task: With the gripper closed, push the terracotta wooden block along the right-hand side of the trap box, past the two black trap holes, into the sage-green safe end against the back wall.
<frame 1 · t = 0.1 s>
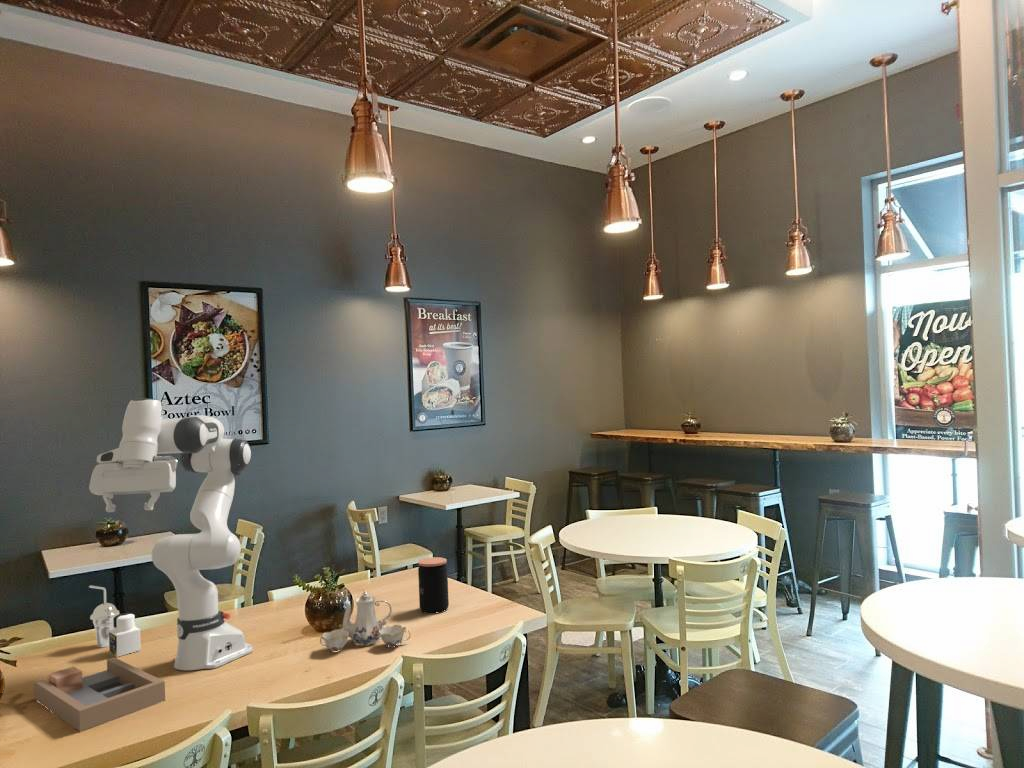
hand: (129, 510, 166), 52 cm above the table, tool tilted 20°, fingers open, 8 cm apart
medicine bottle: (125, 652, 214), on the table
trap box: (97, 699, 178), on the table
terracotta block: (65, 689, 181), point 2 cm above the table, touching trap box
chinaware: (365, 645, 211), on the table
coffee jar: (434, 610, 244), on the table
cup with straw: (105, 645, 221), on the table
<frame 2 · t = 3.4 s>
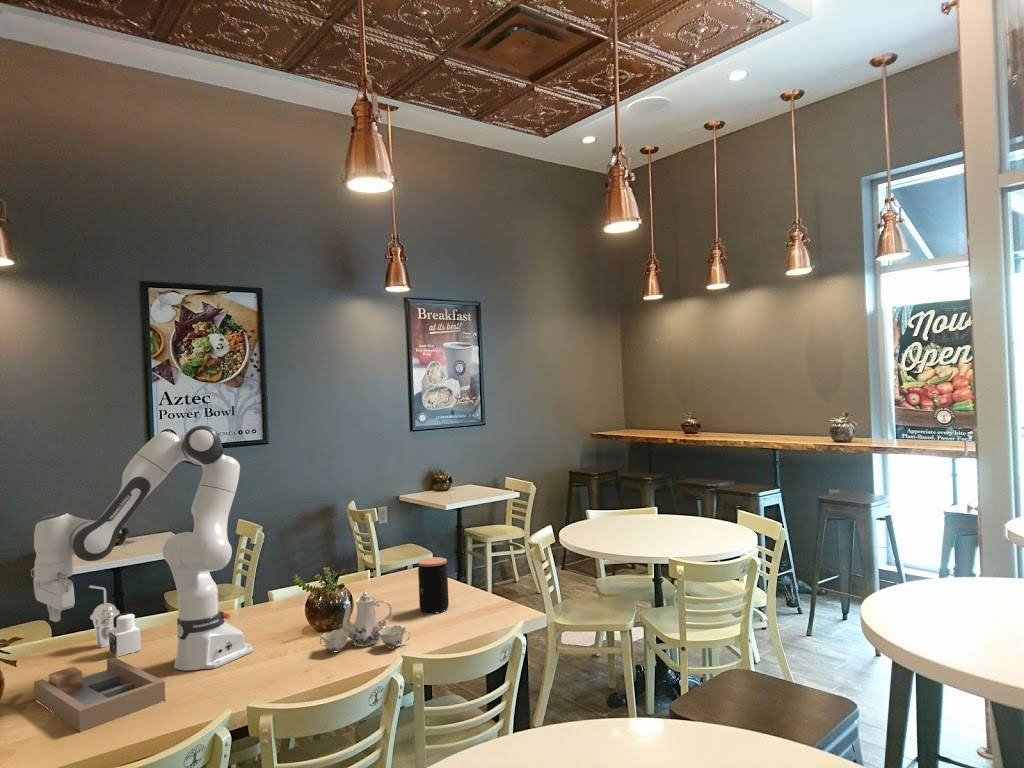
hand: (55, 620, 187), 19 cm above the table, tool pointing down, fingers closed
nothing on the table moved.
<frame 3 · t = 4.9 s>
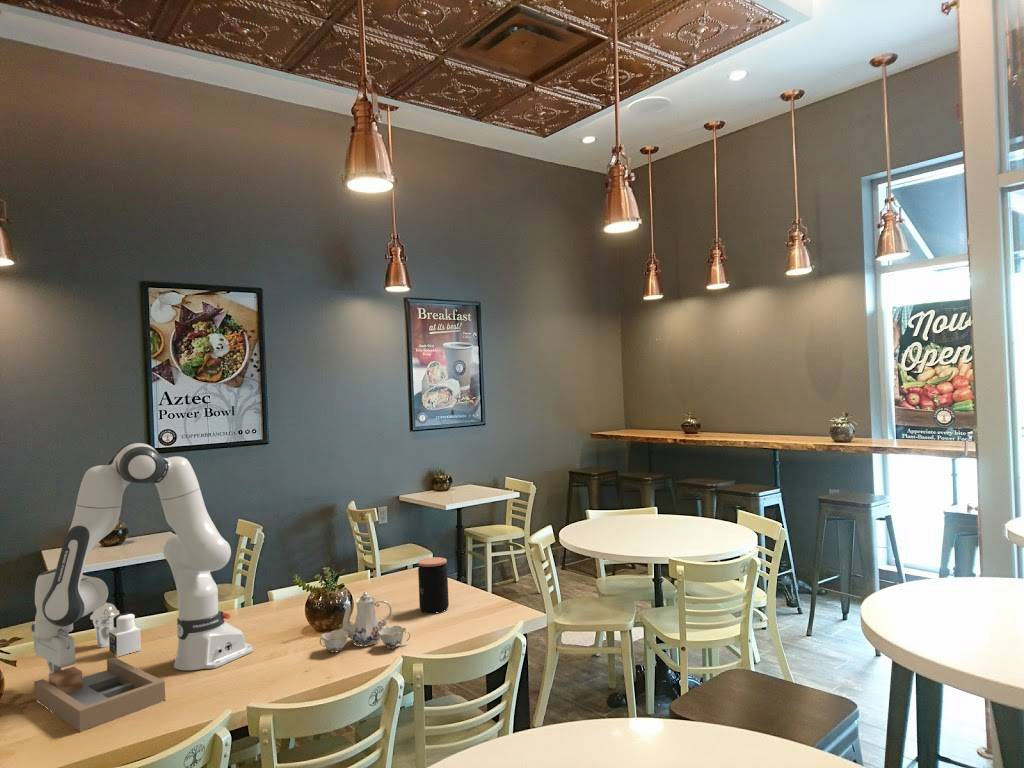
hand: (55, 676, 186), 4 cm above the table, tool pointing down, fingers closed
nothing on the table moved.
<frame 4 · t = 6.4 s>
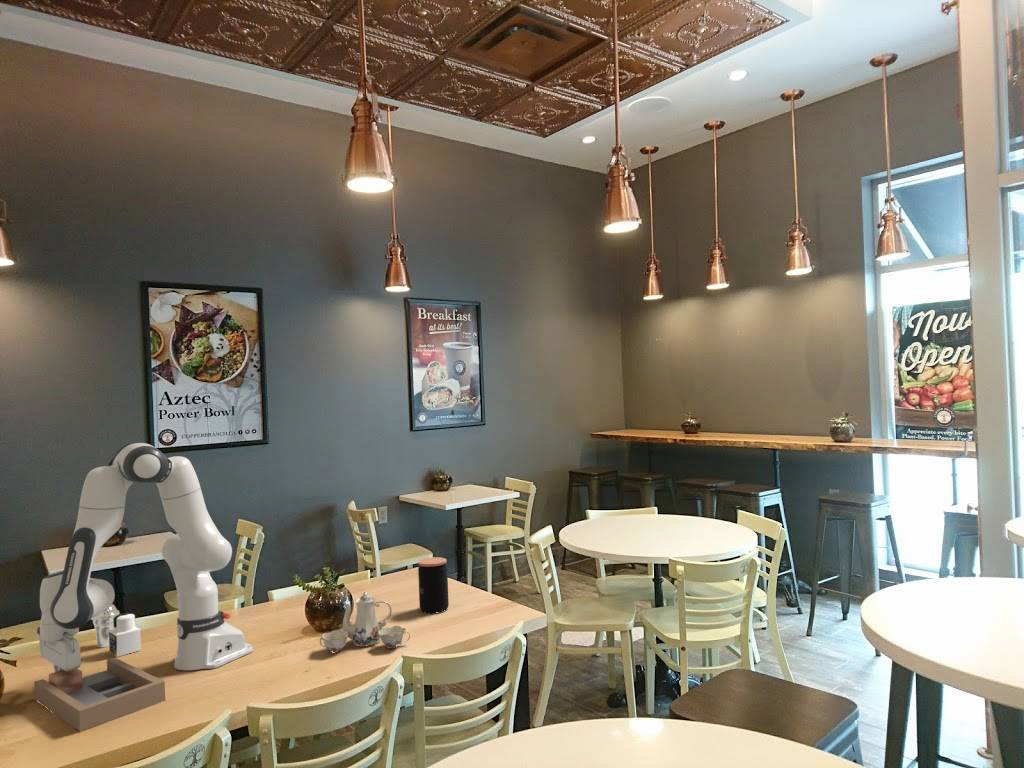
hand: (61, 679, 185), 3 cm above the table, tool pointing down, fingers closed
terracotta block: (65, 689, 181), point 2 cm above the table, touching gripper, trap box
everything else where it was.
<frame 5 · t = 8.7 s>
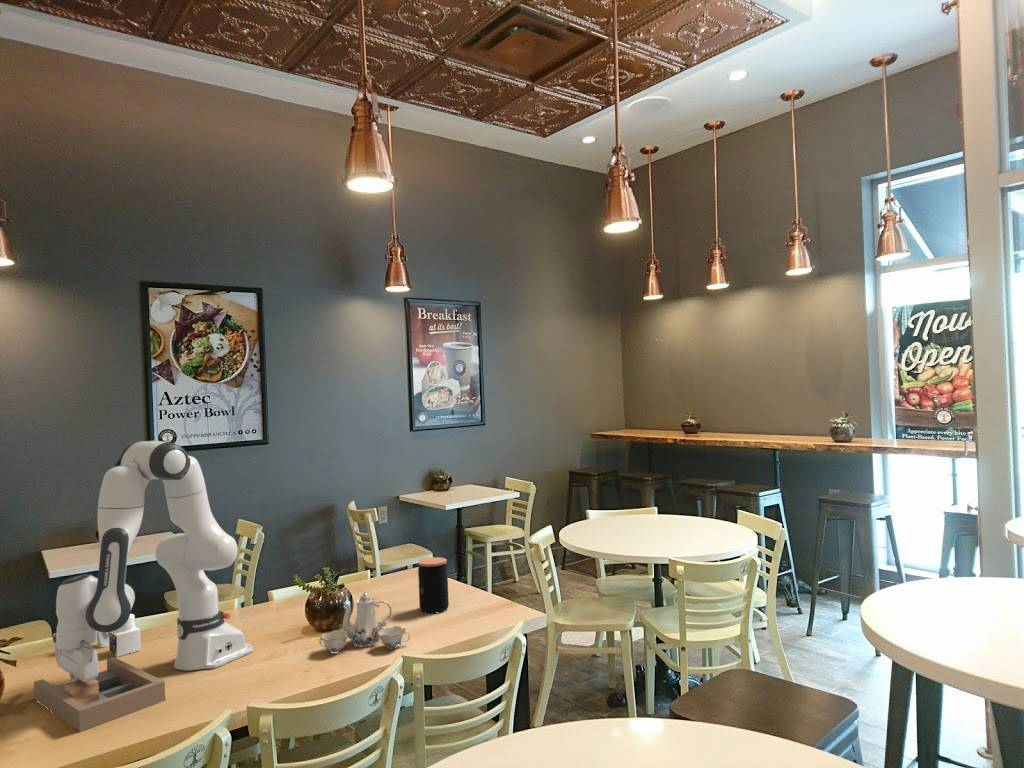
hand: (77, 689, 177), 3 cm above the table, tool pointing down, fingers closed
terracotta block: (82, 700, 173), point 2 cm above the table, touching gripper
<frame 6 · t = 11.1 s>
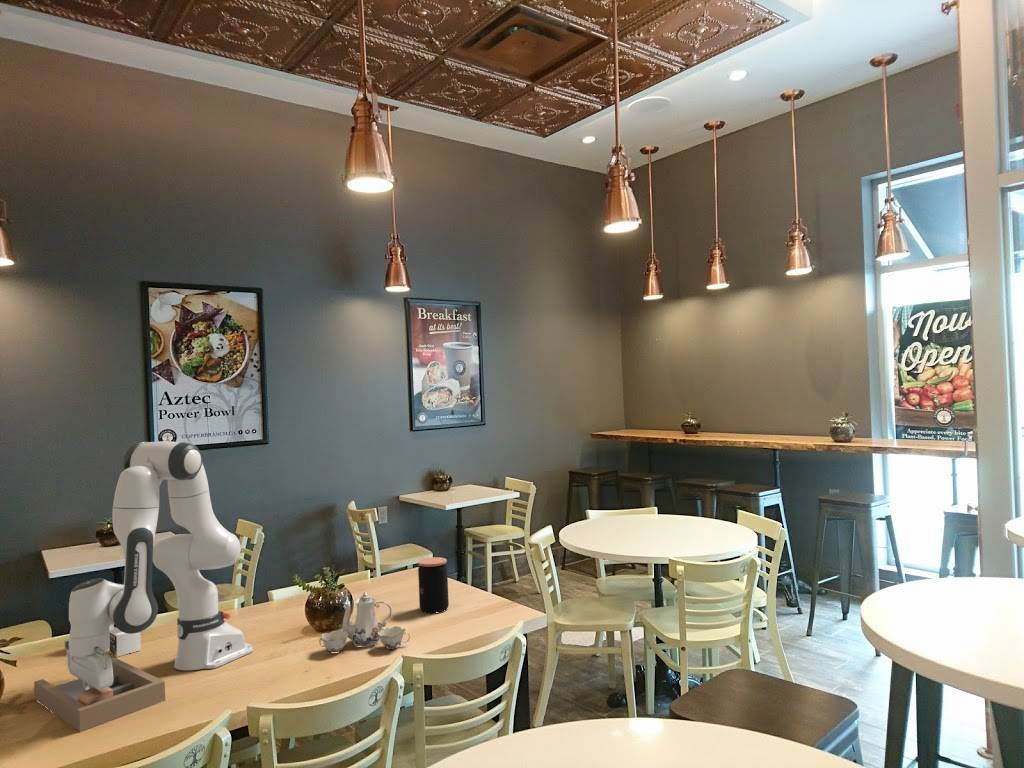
hand: (91, 697, 171), 3 cm above the table, tool pointing down, fingers closed
terracotta block: (95, 709, 167), point 2 cm above the table, touching gripper, trap box
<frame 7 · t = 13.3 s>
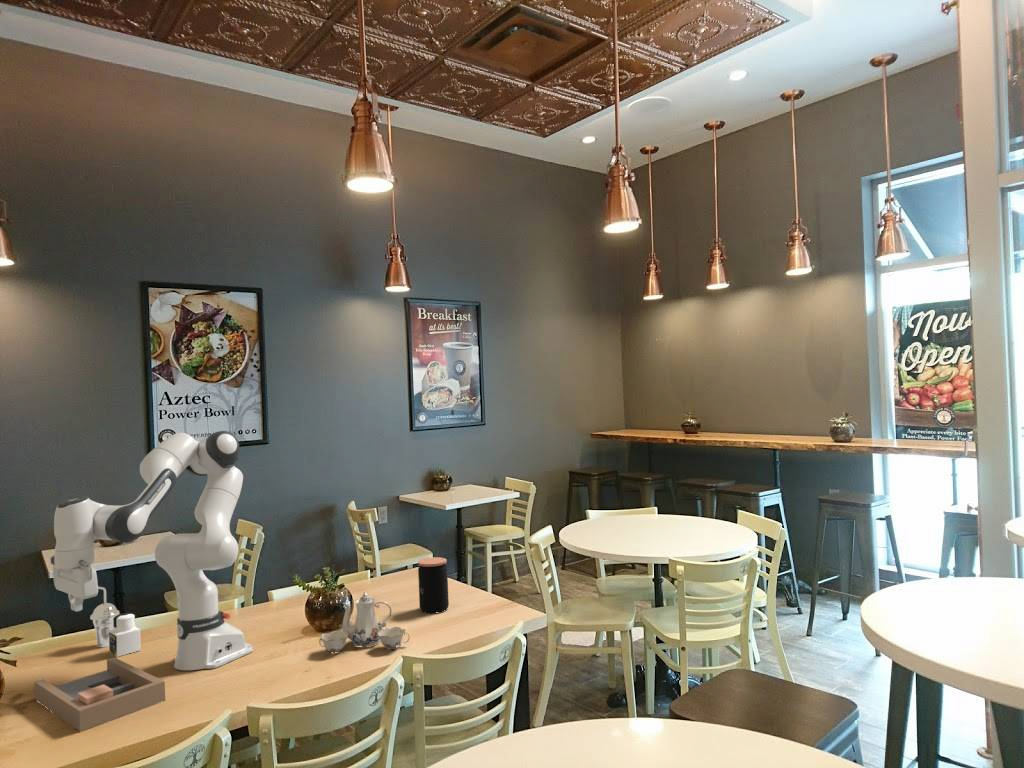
hand: (76, 610, 178), 24 cm above the table, tool pointing down, fingers closed
terracotta block: (95, 709, 167), point 2 cm above the table, touching trap box
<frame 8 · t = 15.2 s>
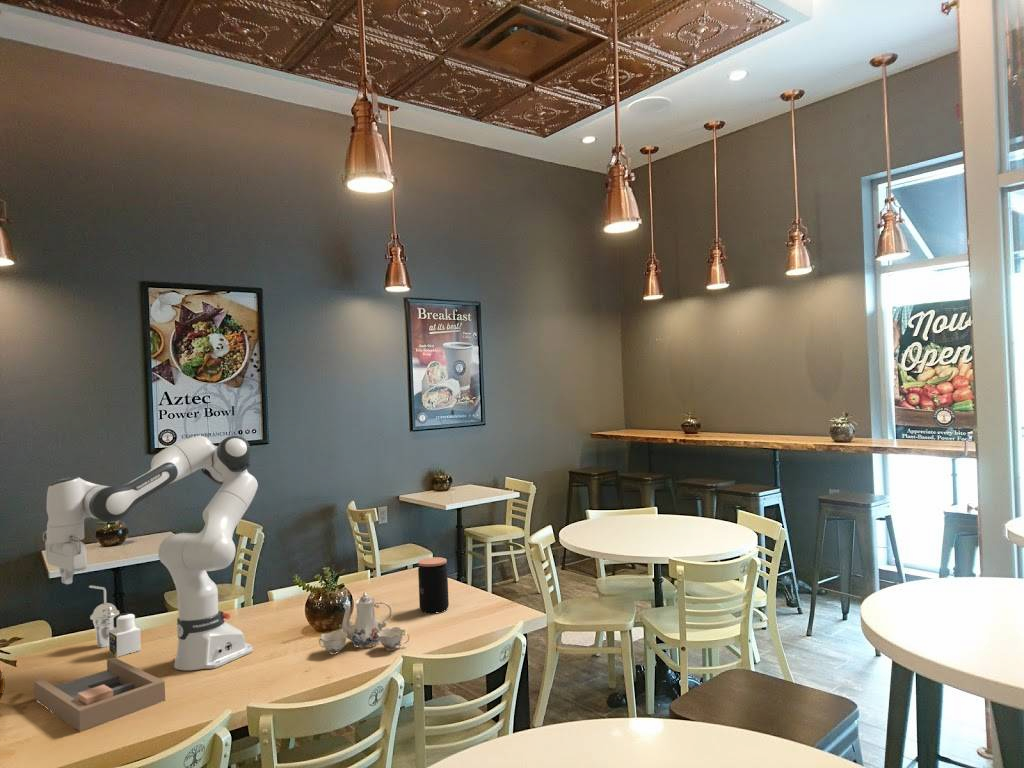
hand: (67, 583, 189), 29 cm above the table, tool pointing down, fingers closed
at the end: terracotta block inside the target area on the trap box (0.5 cm from its centre), point 2.0 cm above the trap box's base; terracotta block tilted 0° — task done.
